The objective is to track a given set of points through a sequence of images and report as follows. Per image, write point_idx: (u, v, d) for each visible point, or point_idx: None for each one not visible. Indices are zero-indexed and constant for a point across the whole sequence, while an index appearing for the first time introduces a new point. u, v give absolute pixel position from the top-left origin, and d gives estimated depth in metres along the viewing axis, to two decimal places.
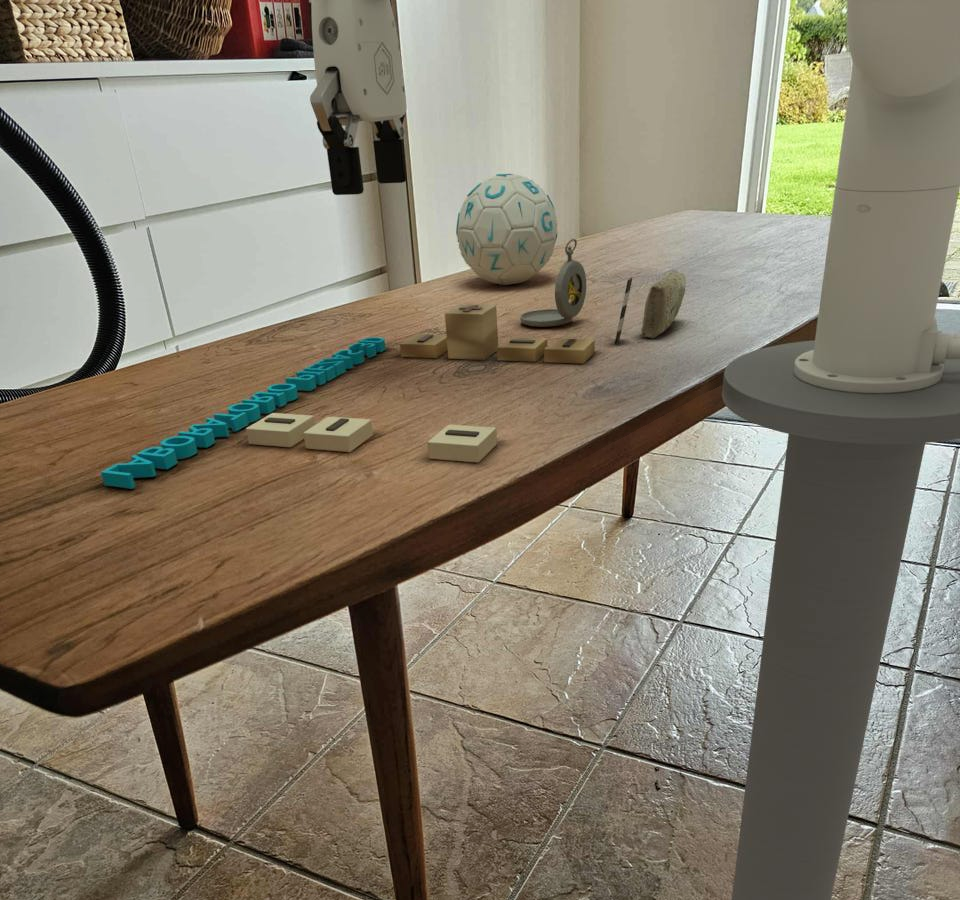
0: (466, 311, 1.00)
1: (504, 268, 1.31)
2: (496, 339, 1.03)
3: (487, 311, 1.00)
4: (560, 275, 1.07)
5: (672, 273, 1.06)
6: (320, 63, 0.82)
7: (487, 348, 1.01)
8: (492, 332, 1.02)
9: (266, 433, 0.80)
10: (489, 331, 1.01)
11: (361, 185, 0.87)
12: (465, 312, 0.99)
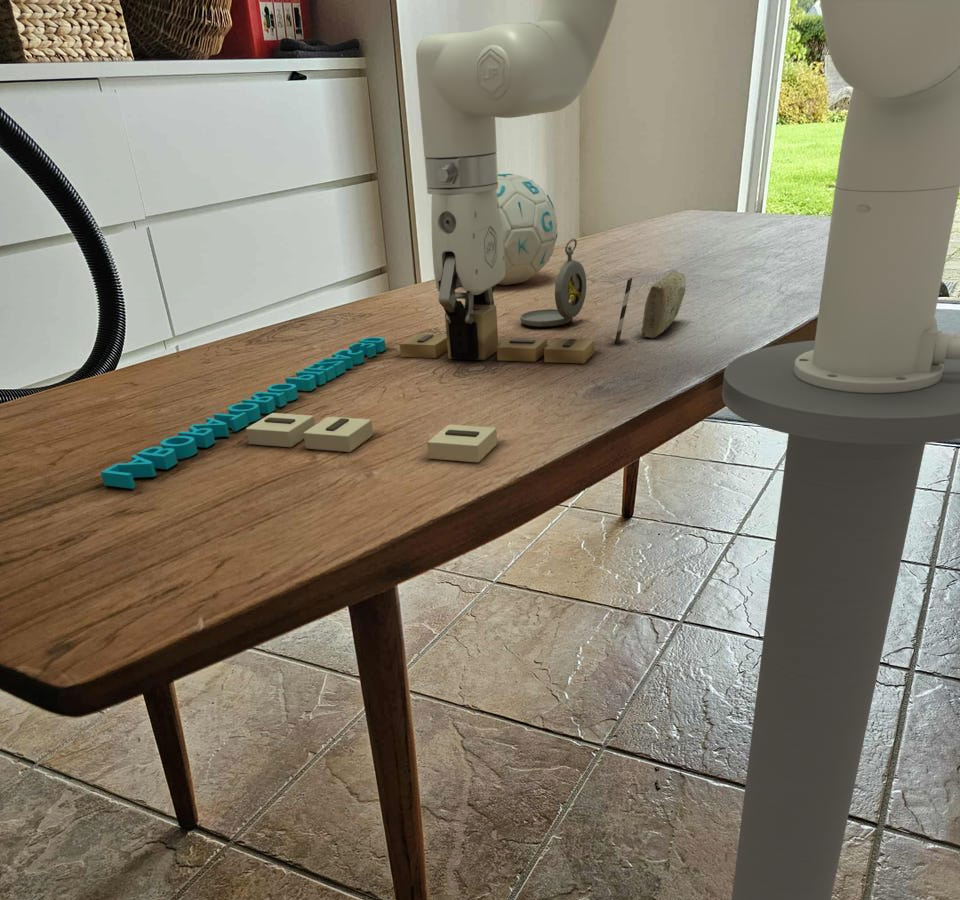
0: None
1: None
2: (496, 339, 1.03)
3: (487, 311, 1.00)
4: (560, 275, 1.07)
5: (672, 273, 1.06)
6: (438, 248, 0.94)
7: (487, 348, 1.01)
8: (492, 332, 1.02)
9: (266, 433, 0.80)
10: (489, 331, 1.01)
11: (477, 352, 1.00)
12: None
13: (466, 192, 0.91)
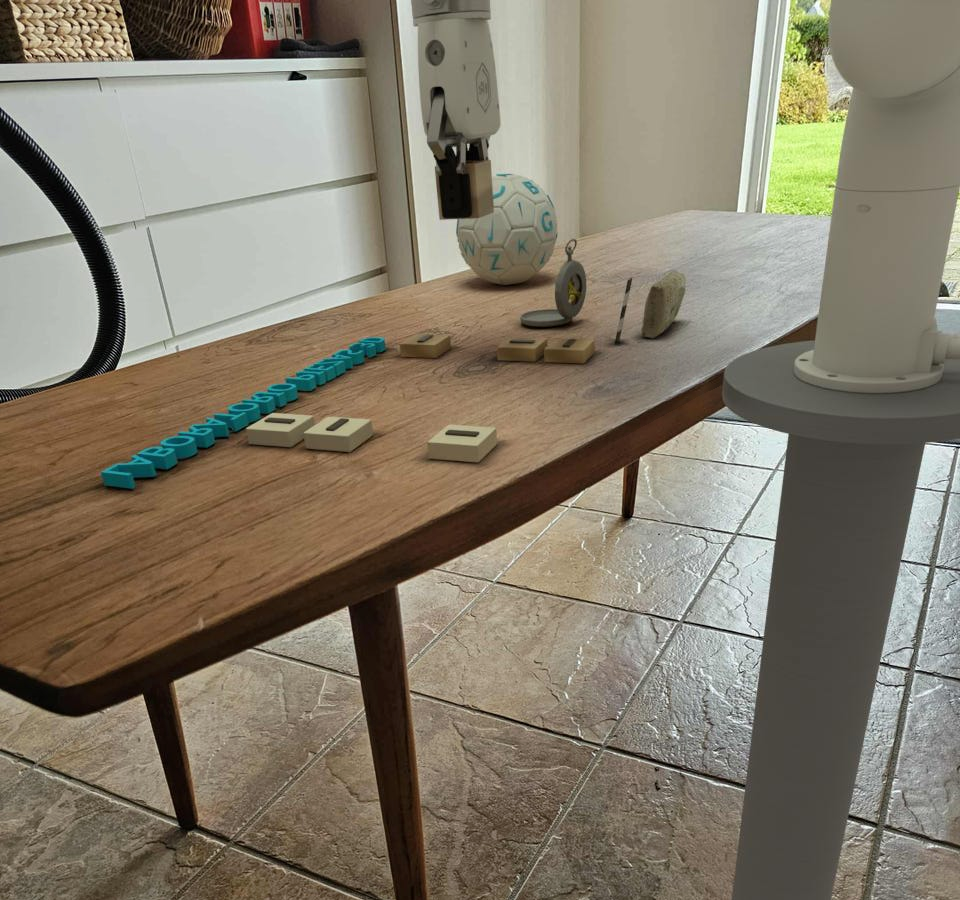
0: None
1: (504, 268, 1.31)
2: (491, 199, 0.95)
3: (481, 163, 0.92)
4: (560, 275, 1.07)
5: (672, 273, 1.06)
6: (425, 83, 0.86)
7: (481, 206, 0.93)
8: (486, 189, 0.94)
9: (266, 433, 0.80)
10: (483, 187, 0.93)
11: (470, 209, 0.92)
12: None
13: (455, 17, 0.83)
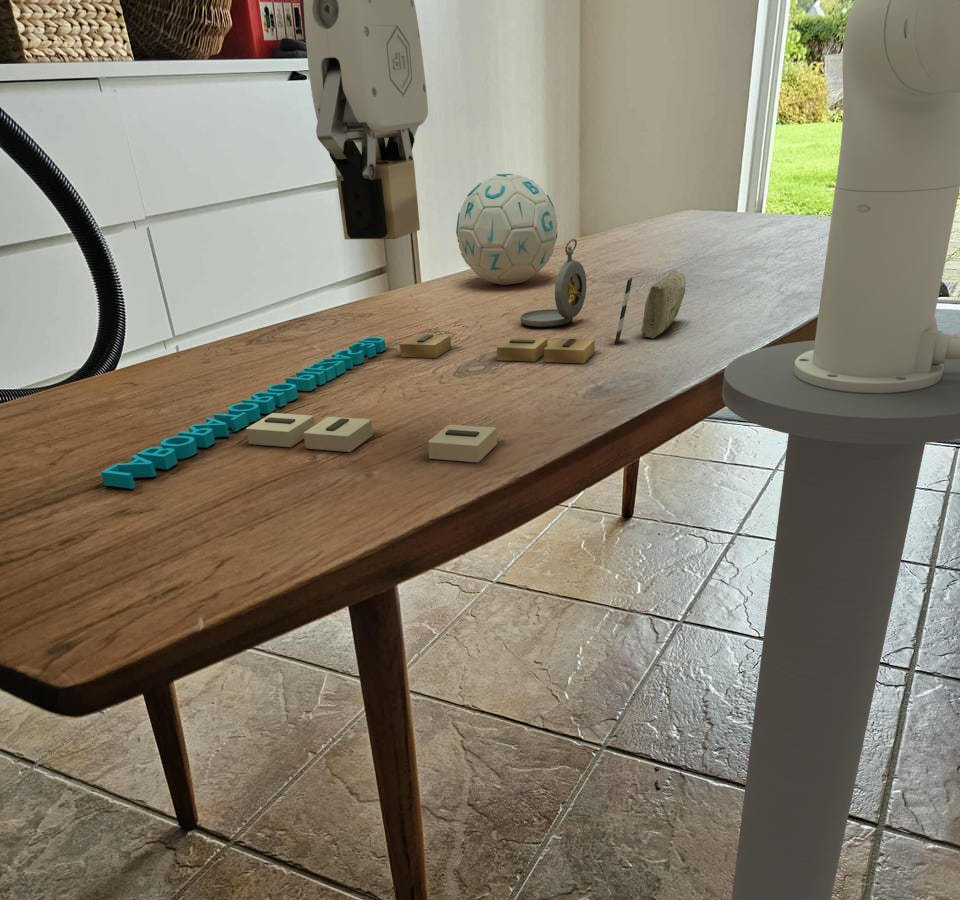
0: None
1: (504, 268, 1.31)
2: (415, 212, 0.71)
3: (398, 165, 0.67)
4: (560, 275, 1.07)
5: (672, 273, 1.06)
6: (314, 53, 0.61)
7: (399, 222, 0.69)
8: (408, 200, 0.70)
9: (266, 433, 0.80)
10: (402, 197, 0.69)
11: (384, 227, 0.68)
12: None
13: None
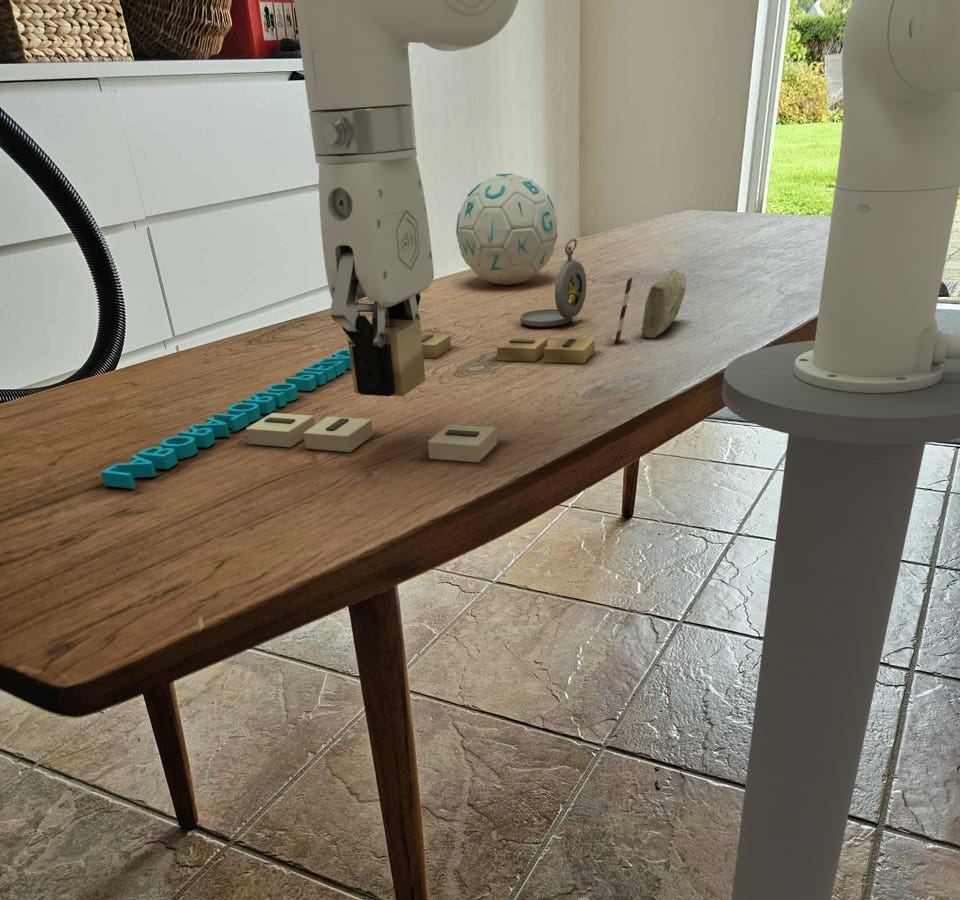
0: None
1: (504, 268, 1.31)
2: (421, 366, 0.75)
3: (405, 329, 0.72)
4: (560, 275, 1.07)
5: (672, 273, 1.06)
6: (329, 240, 0.66)
7: (407, 380, 0.73)
8: (414, 358, 0.74)
9: (266, 433, 0.80)
10: (409, 357, 0.73)
11: (392, 386, 0.72)
12: None
13: (366, 160, 0.63)
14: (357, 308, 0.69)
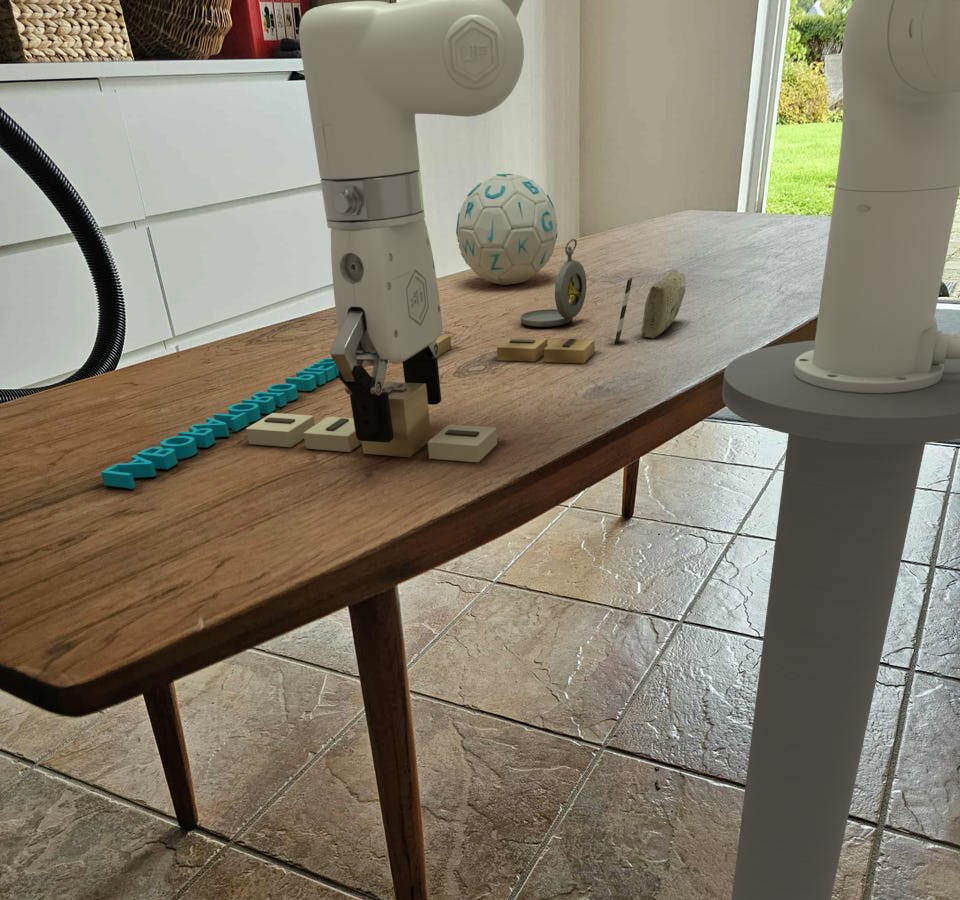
0: None
1: (504, 268, 1.31)
2: (427, 427, 0.78)
3: (412, 394, 0.75)
4: (560, 275, 1.07)
5: (672, 273, 1.06)
6: (342, 302, 0.68)
7: (413, 441, 0.76)
8: (420, 419, 0.77)
9: (266, 433, 0.80)
10: (416, 420, 0.76)
11: (391, 433, 0.72)
12: None
13: (377, 226, 0.66)
14: (360, 356, 0.70)
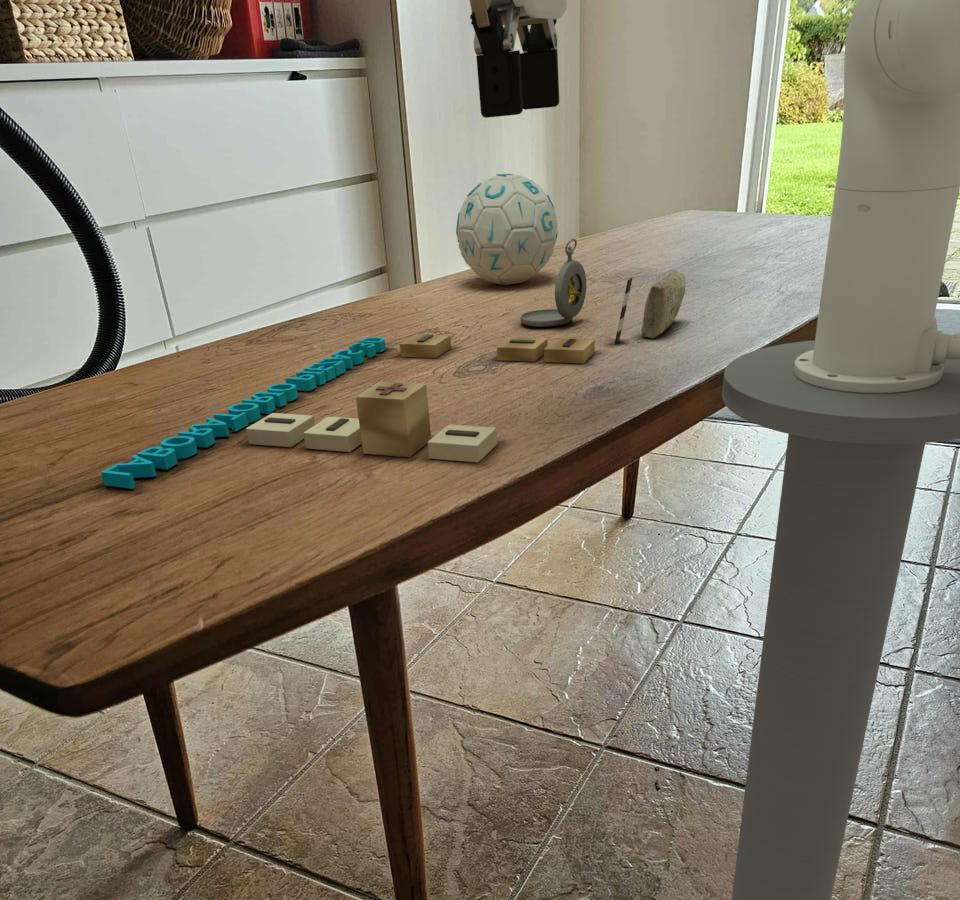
0: (384, 394, 0.75)
1: (504, 268, 1.31)
2: (427, 427, 0.78)
3: (412, 394, 0.75)
4: (560, 275, 1.07)
5: (672, 273, 1.06)
6: None
7: (413, 441, 0.76)
8: (420, 419, 0.77)
9: (266, 433, 0.80)
10: (416, 420, 0.76)
11: (521, 102, 0.67)
12: (382, 395, 0.74)
13: None
14: None
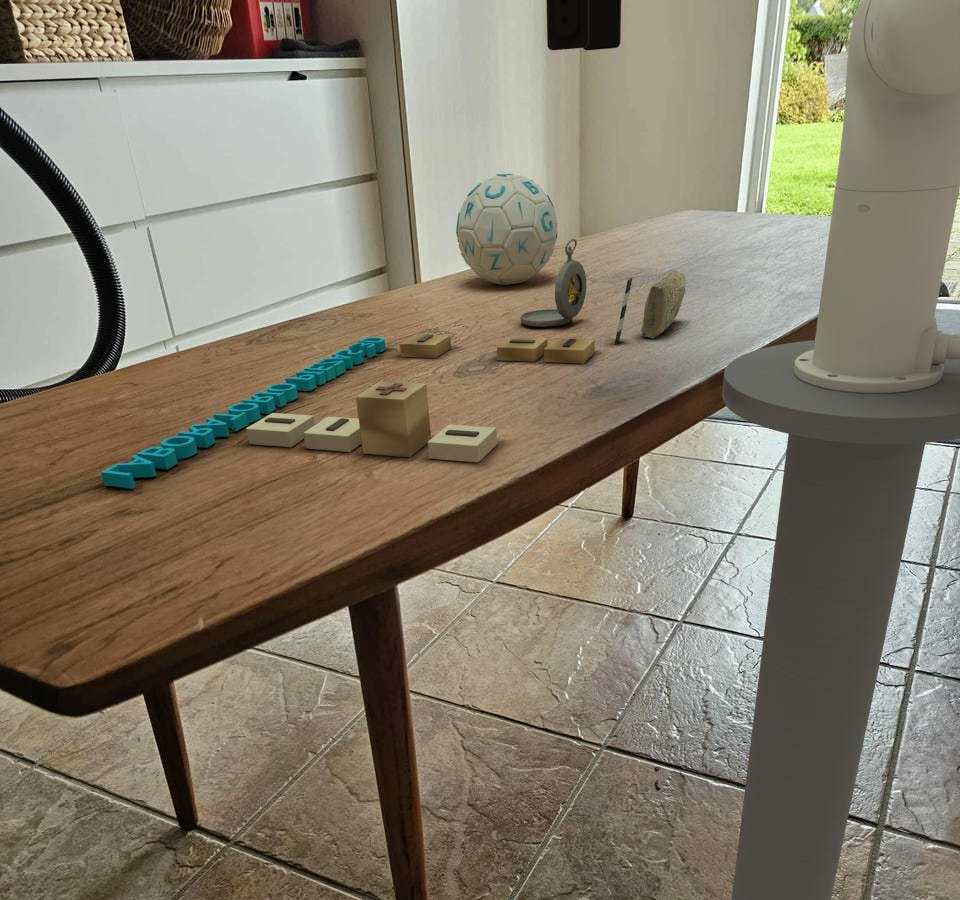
0: (384, 394, 0.75)
1: (504, 268, 1.31)
2: (427, 427, 0.78)
3: (412, 394, 0.75)
4: (560, 275, 1.07)
5: (672, 273, 1.06)
6: None
7: (413, 441, 0.76)
8: (420, 419, 0.77)
9: (266, 433, 0.80)
10: (416, 420, 0.76)
11: (588, 35, 0.68)
12: (382, 395, 0.74)
13: None
14: None
